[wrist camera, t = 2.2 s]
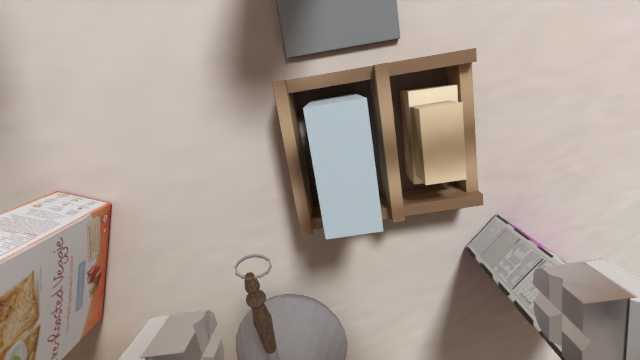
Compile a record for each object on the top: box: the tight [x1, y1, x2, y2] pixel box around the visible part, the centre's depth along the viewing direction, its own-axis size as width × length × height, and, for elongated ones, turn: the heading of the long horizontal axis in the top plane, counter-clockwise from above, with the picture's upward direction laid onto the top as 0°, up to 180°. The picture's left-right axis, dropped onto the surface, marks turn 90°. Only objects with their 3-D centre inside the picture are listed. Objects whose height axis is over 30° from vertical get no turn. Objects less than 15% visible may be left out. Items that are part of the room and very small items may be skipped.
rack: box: [272, 48, 483, 235], centre depth 31 cm, size 13×16×5 cm
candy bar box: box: [466, 215, 567, 360], centre depth 28 cm, size 11×5×16 cm, turn 55°
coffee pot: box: [235, 254, 347, 360], centre depth 31 cm, size 21×12×15 cm, turn 4°
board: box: [303, 93, 384, 239], centre depth 28 cm, size 9×4×11 cm, turn 9°
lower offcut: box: [400, 85, 458, 184], centre depth 32 cm, size 8×4×4 cm, turn 8°
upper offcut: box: [410, 101, 467, 185], centre depth 29 cm, size 6×3×3 cm, turn 9°
